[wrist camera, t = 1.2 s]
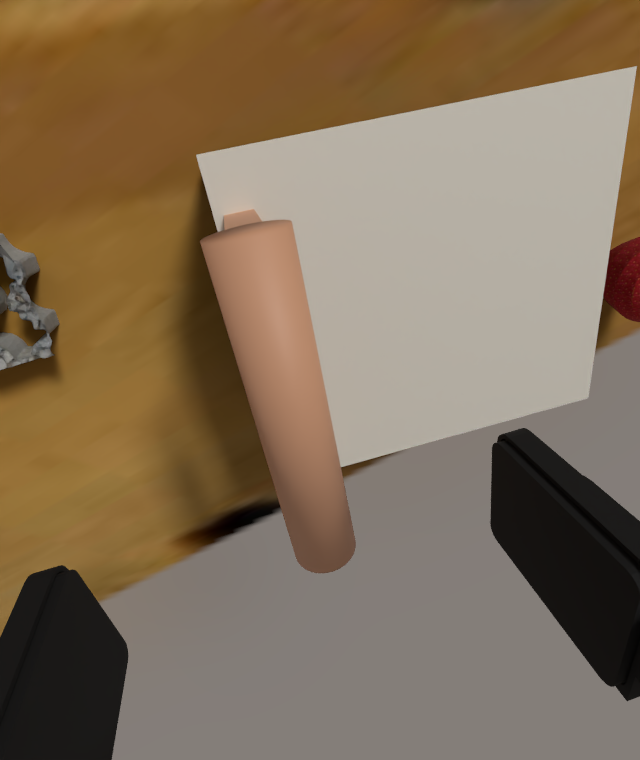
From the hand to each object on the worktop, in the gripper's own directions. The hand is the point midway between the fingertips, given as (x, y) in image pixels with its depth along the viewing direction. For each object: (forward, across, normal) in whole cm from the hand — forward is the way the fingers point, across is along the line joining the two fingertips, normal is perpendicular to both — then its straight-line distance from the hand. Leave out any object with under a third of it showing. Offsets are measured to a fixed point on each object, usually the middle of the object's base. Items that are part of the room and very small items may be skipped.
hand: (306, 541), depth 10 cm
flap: (+12, -9, 0) cm, 15 cm away
